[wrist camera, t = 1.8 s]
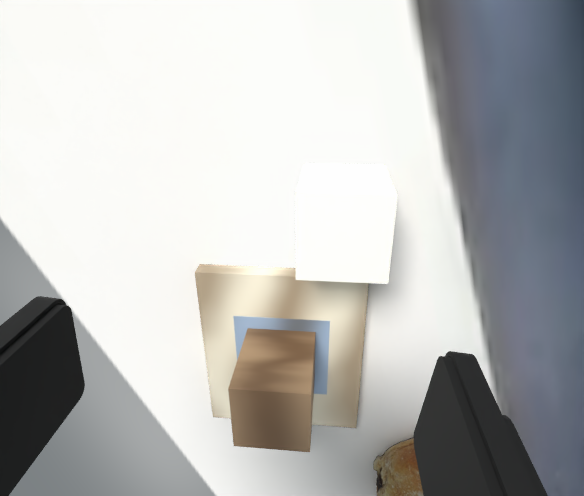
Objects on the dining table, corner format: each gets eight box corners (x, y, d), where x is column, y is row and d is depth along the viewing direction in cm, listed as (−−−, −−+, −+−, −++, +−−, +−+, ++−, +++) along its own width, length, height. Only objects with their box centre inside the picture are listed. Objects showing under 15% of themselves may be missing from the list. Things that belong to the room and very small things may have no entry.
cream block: (384, 164, 25) (397, 195, 20) (378, 238, 27) (388, 284, 22) (304, 162, 26) (295, 192, 20) (303, 235, 28) (295, 280, 22)
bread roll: (387, 398, 38) (353, 469, 32) (510, 435, 33) (497, 529, 27) (392, 469, 42) (362, 544, 36) (502, 512, 37) (489, 609, 31)
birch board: (367, 271, 28) (369, 280, 27) (355, 416, 34) (356, 428, 33) (199, 264, 29) (194, 272, 28) (216, 405, 35) (212, 417, 34)
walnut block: (315, 331, 29) (310, 394, 24) (314, 384, 32) (309, 452, 26) (247, 328, 30) (228, 388, 25) (251, 379, 32) (233, 445, 27)
